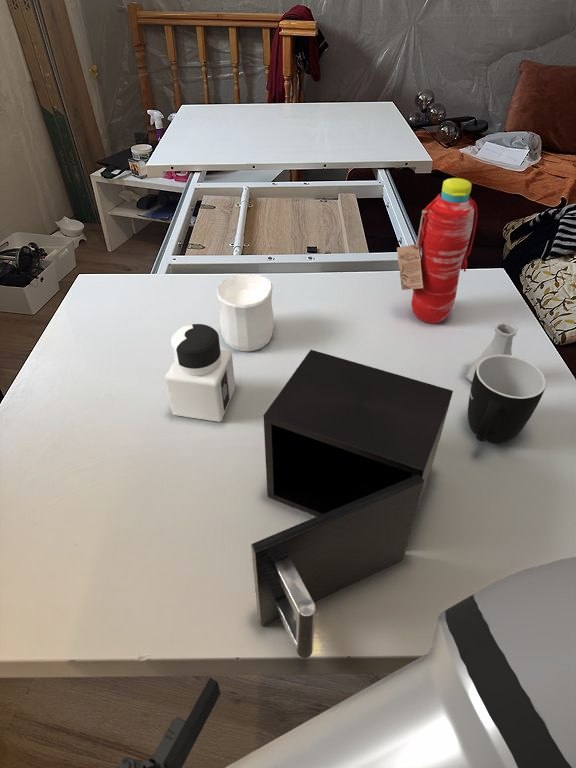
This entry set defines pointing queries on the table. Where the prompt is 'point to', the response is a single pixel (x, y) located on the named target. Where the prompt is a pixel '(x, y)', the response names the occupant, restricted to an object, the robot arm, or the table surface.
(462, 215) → the water bottle
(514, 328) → the flask
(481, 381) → the mug
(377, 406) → the dark grey cabinet
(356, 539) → the door
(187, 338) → the container
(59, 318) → the table surface
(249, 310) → the cup
